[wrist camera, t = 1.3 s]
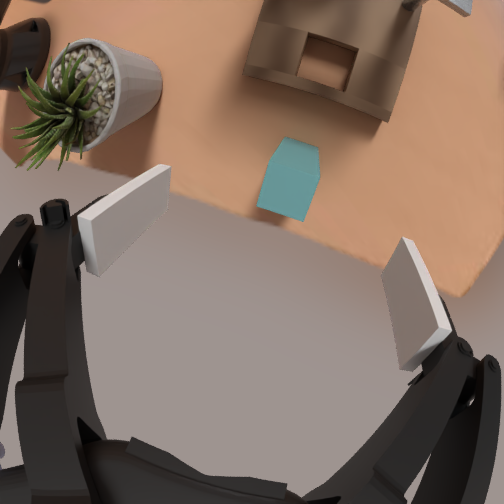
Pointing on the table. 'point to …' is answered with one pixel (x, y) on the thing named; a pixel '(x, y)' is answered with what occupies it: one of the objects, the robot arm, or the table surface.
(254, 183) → the table surface
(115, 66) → the potted plant
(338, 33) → the socket plate
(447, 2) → the grey metal bridge
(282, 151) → the peg
